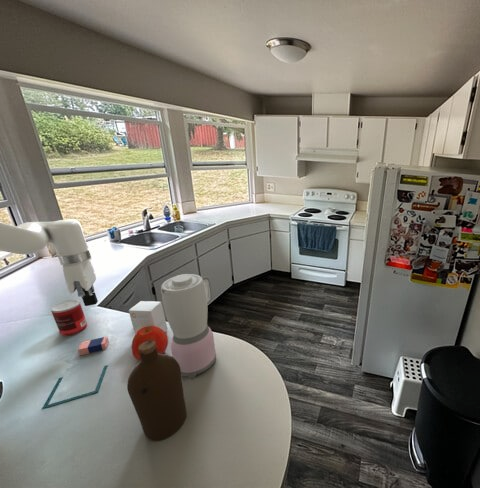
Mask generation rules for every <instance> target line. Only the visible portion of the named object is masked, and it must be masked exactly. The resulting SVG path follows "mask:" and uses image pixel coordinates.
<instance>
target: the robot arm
mask: <svg viewBox="0 0 480 488" xmlns="http://www.w3.org/2000/svg"><path fill="white" fill-rule="evenodd" d="M82 227H83V226H82V224H81V223H80V222H79V221H78V220H76V219H70V218H67V219H59V220H54V221H27V222H23V223H20V224H18V225H13V224H10V223H6V222H2V221H0V251H1V252H6V253H11V254H17V255H33V254H37V253H39V252H41V251H43V250H44V249H45V248H46V246H47V245H48V244H50V243H51V244H52V246H53V248H54V250H55V253H56V256H57V259H58V261H59V264H60V265H61V266H62V272H63V277H64V280H65V284H66V286H67V290H68V293H70V294H74V292H77V296H78V297H81V299H82V302H83V305H84V307H88V306H95V305H97V304H98V298H97V295H96V292H95V287H94V283H95V282H96V281H97V276H96V272H95V269H94V266H93V264H92V261H91V260H92V256H91V252H90V249H89V246H88V243H87V240H86V237H85V234H84V231H83V228H82Z"/></svg>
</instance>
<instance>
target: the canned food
mask: <svg viewBox="0 0 480 488" xmlns="http://www.w3.org/2000/svg"><path fill="white" fill-rule="evenodd" d="M50 311H51V314H52V317H53V320H54V322H55V324H56V326H57V329H58V331H59V333H60V335H62V336H65V337H66V336H73V335H76V334H78V333H80V332H82V331H84V330H85V329H86V328H87V326H88V322H87V319H86V316H85V314H84V310H83V306H82V304H81V302H80V300H79V299H67V300H63V301H61V302H58V303H56V304H54V305H52V306H51V308H50Z"/></svg>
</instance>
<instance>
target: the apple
mask: <svg viewBox="0 0 480 488" xmlns="http://www.w3.org/2000/svg"><path fill="white" fill-rule="evenodd" d="M146 341H154V342H155V344H156V346H157V350H158V353H159V354H165V352H166V350H167V349H168V344H169V337H168V334H167V331H166V332H165V331H163V330H162V329H161V328H159V327H156V326H146V327H143V328H141V329H140V330H138V331H137V333H136V334H135V333H134V336H133V338H132V342H131V353H132V356H133V358H134V359H135V360H137V361H139V362H140V361H141V358H140V355H139V349H138V348H139V346H140V345H141V344H142V343H144V342H146Z"/></svg>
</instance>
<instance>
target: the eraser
mask: <svg viewBox="0 0 480 488" xmlns="http://www.w3.org/2000/svg"><path fill="white" fill-rule="evenodd" d="M109 343H110V340H109V337H108V336H102V337H98V338H94V339H91V340H86V341H82V342H81V343H80V345H79V347H78V349H77V351H78V354H79V356H84V355H88V354H92V353H97V352H101V351H105V350H107V348H108V346H109Z"/></svg>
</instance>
